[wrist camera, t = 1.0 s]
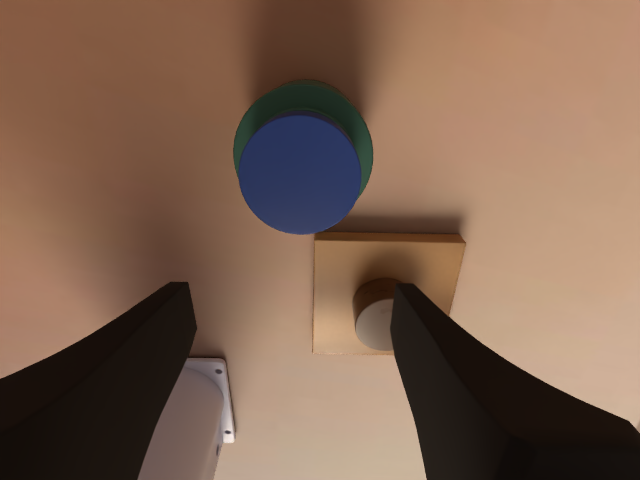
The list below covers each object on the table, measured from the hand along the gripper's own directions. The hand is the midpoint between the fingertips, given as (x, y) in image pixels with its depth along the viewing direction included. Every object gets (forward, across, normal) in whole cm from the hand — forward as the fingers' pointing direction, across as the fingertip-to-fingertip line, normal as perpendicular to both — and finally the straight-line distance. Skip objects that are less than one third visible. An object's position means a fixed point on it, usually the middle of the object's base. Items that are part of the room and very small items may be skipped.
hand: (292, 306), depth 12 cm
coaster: (+10, -5, +6) cm, 12 cm away
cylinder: (+8, -5, +6) cm, 12 cm away
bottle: (+10, 0, -4) cm, 10 cm away
